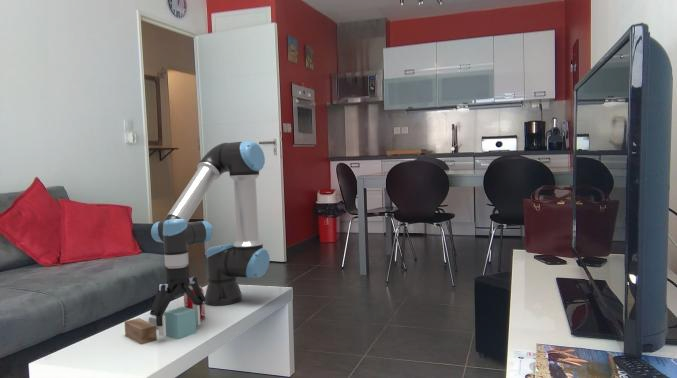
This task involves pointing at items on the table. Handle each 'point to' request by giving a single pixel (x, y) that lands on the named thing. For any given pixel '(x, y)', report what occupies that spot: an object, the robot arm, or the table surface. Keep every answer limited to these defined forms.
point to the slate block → (153, 321)
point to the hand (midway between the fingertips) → (180, 329)
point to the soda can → (189, 303)
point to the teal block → (180, 322)
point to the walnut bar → (140, 331)
